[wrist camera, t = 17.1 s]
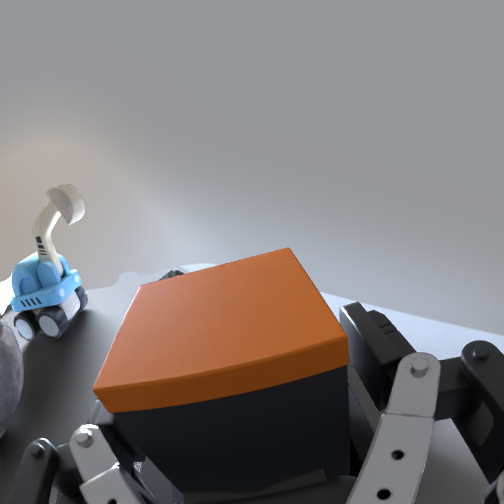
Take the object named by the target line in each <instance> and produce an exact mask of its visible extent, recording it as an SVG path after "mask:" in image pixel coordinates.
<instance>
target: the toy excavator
mask: <svg viewBox="0 0 504 504" xmlns="http://www.w3.org/2000/svg"><path fill="white" fill-rule="evenodd" d="M46 195H47V196H48V198H49V200H48V202H47V203H46V204H45V206H44V207H43V209H42V210H41V211H40V213H39V214H38V216H37V217H36V219H35V220H34V223H33V227H32V232H33V239H34V243H35V247H36V250H37V252H36V253H34V254H33V255H31V256H29V257H28V258H26V259H24V260H23V261H21V262H20V263H18V264H17V265H16V266H15V267H14V269H13V271H12V275H11V286H12V290H13V293H14V294H13V295H12V299H11V301H10V303H11V306H12V308H13V310H14V311H15V312H19V314H18V315H17V316H15V318H14V326H15V327H16V328H17V330H18V333H19V334H20V336H21V337H22V338H24V339H26V340H27V341H29V340H30V339H33V338H35V337H36V336H38V335H39V333H40V332H41V331H42V332H43V333H44V334H45V335H47V336H48V337H49V338H50V336H53V337H55V338H54V339H58V338H60V337H61V335H62V334H63V333H64V331H65V330H66V329H67V327H68V321H69V320H70V319H71V318H72V317H73V315H74V314H75V313H79V312H81V311H82V310H83V309H84V307H85V306H86V304H87V301H88V299H87V294H85V293H84V292H85V290H84V289H83V288H82V287H81V286H80V284H81V283H82V281H81V279H80V276H79V273H78V271H77V270H71V271H70V268H69V266H68V263H67V261H66V259H65V258H64V257H63V256H61V255H58V254H57V253H56V251H55V248H54V245H53V242H52V240H51V230H52V228H53V227H54V225H55V223H56V221H57V219H58V218H59V216H60V215H62V216H63V218H64V219H65V221H66V223H67V225H70V224H72V223H74V222H76V221H78V220H80V219H81V218H82V216H83V214H84V211H85V202H84V199H83V196H82V194H81V192H80V191H79V190H78V189H77V188H76V187H75V186H73V185H71V184H62V185H59V186H55V187H52V188H50V189H49V190H47V192H46Z"/></svg>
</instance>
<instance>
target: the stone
mask: <svg viewBox="0 0 504 504" xmlns="http://www.w3.org/2000/svg"><path fill="white" fill-rule="evenodd" d="M13 294H14V293H13V290H12V286H11V277H10V278H9V279H8V280H6V281H3V282H1V283H0V315H2V314H3V313H4V311H5V309H6V307H7V306H8V305H9V304H10V301H11V299H12V295H13Z"/></svg>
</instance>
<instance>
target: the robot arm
mask: <svg viewBox="0 0 504 504" xmlns="http://www.w3.org/2000/svg"><path fill="white" fill-rule="evenodd" d="M339 317H340V325H341V326H342V328H343V330H344V331H345V333H346V334H347V336H348V345H349V360H350V361H351V363H352V365H353V367H354V369H355V370H356V372H357V374H358V376H359V377H360V379H361V381H362V383H363V385H364V386H365V388H366V390H367V392H368V393H369V395H370V397H371V399H372V401H373V402H374V404H375V406H376V408H377V410H378V412H379V411H382V410H384V409H386V411H385V412H383V413H382V415H381V418H380V421H379V424H378V427H377V429H376V432H375V435H374V438H373V440H372V443H371V446H370V448H369V451H368V454H367V456H366V459H365V461H364V463H363V466H362V468H361V471H360V473H359V475H358V478H357V477H352V476H346V475H325V472H324V469H323V467H322V468H319V469H315V470H311V471H308V472H304V473H300V474H296V475H292V476H288V477H286V478H283V479H281V480H279V481H277V482H274V483H272V484H270V485H267V486H265V487H262V488H260V489H257V490H255V491H237V490H224V489H209V490H197V491H184V500H183V501H180V502H177V503H175V504H419V503H416V502H414V501H415V498H416V495H417V492H418V489H419V485H420V482H421V479H422V475H423V471H424V468H425V464H426V460H427V456H428V451H429V447H430V443H431V438H432V433H433V428H434V422H435V421H438V420H443V419H448V418H451V419H452V421H453V423H454V424H455V426H456V427H457V429H458V431H459V432H460V434H461V436H462V437H463V439H464V441H465V442H466V444H467V446H468V447H469V449H470V451H471V453H472V454H473V456H474V458H475V460H476V461H477V463H478V465H479V467H480V468H481V470H482V472H483V474H484V476H485V477H486V479H487V481H488V483H489V485H490V486H489V488H488V489H487V491H486V493H485V496H484V504H504V355H503V354H502V353H501V352H500V351H499V350H498V349H497V347H496V346H494V345H493V344H492V343H490V342H487V341H481V340H478V341H473V342H470V343H468V344H467V345H466V346H465V347H464V348H463V350H462V354H461V357H456V358H451V359H446V360H438V359H437V358H436V357H435V356H433V355H431V354H429V353H424V352H416V351H415V349H414V348H413V347H412V346H411V345H410V344H409V342H408V341H407V340H406V339H405V338H404V337H403V335H402V334H401V333H400V332H399V331H398V330H397V328H396V327H395V326H394V325H393V324H391V322H390V321H389V319H388V318H387V317H386V316H385V315H384V314H382V313H379V312H377V311H375V310H372V311H369V312H367V311H366V310H365V309H364V308H363V307H362V305H361V304H360V303H359V302H355V303H352V304H349V305H346V306H342V307H340V308H339ZM96 399H97V401H95V404H94V406H93V409H92V412H91V414H90V417H89V420H88V423H87V425H84V426H82V427H80V428H78V429H77V430H75V431H74V432H73V434H72V435H71V437H70V439H69V443H65V444H61V445H58V446H53V445H52V444H51V443H50V441H49V440H47V439H45V438H40V439H36V440H34V441H33V442H31V443H30V444H29V446H28V447H27V449H26V451H25V453H24V456H23V459H22V461H21V464H20V467H19V470H18V473H17V476H16V479H15V482H14V485H13V488H12V491H11V494H10V497H9V501H8V504H49V497H50V493H51V489H52V486H54V487H55V488H56V489H57V490H59V491H58V495H57V500H56V504H162V503H161V502H160V501H159V499H158V498H157V497H156V496H155V494H154V493H153V492H152V490H151V489H150V488H149V487H148V485H147V484H146V482H145V481H144V480H143V478H142V477H141V476H140V474H139V473H138V471H137V470H136V469H135V468H134V467H133V463H134V462H145V458H146V455H145V454H144V453H143V451H142V450H141V449H140V448H139V447H138V446H137V444H136V443H135V442H134V441H133V440H132V438H131V437H130V436H129V435H128V433H127V432H126V431H125V430H124V428H123V427H122V426H121V424H120V423H119V422H118V421H117V419H116V418H115V417H114V415H113V414H112V413H109V412H108V411H107V410H106V409H105V407H104V406H103V405H102V403H101V402H100V400H99V399H98V398H96Z"/></svg>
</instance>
